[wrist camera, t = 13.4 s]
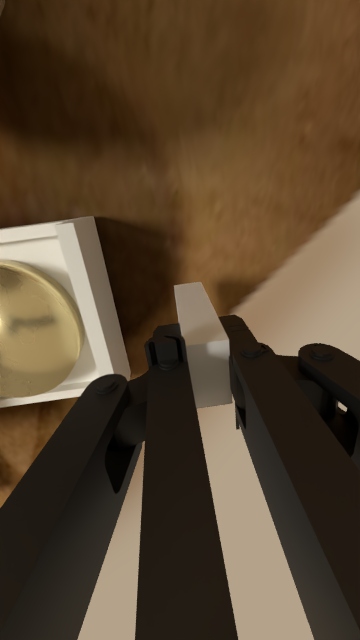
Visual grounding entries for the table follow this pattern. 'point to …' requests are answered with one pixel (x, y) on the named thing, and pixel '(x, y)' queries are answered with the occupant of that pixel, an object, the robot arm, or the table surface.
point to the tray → (73, 296)
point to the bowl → (2, 6)
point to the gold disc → (36, 331)
